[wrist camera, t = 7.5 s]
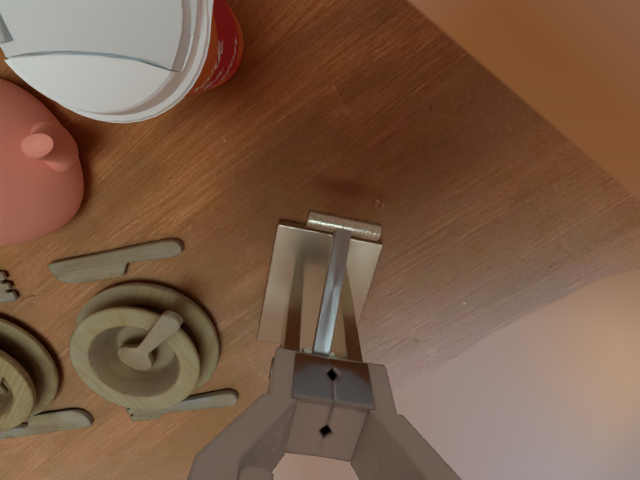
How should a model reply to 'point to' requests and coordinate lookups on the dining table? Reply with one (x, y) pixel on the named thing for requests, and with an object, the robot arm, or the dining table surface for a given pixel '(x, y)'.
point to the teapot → (35, 169)
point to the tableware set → (113, 348)
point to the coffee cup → (121, 52)
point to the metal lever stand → (314, 289)
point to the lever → (335, 270)
